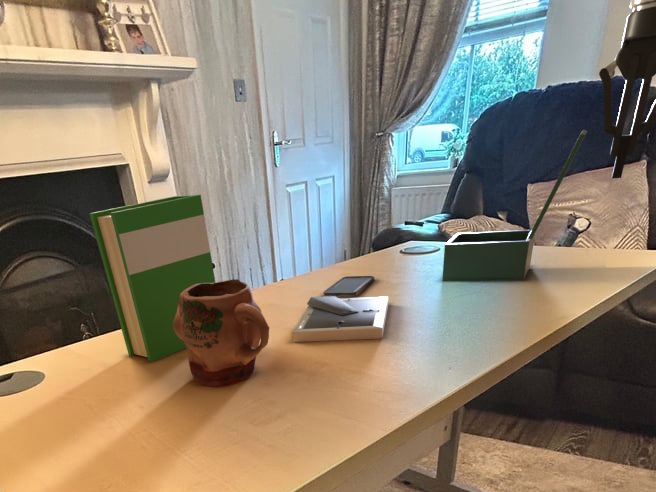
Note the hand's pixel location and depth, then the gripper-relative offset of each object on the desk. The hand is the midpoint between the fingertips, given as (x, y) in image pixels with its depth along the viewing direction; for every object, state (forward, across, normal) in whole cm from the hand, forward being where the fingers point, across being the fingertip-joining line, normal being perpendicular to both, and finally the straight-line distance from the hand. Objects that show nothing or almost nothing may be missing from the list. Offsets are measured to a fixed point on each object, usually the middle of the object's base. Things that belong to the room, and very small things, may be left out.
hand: (616, 177), depth 99 cm
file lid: (+1, -10, 0) cm, 10 cm away
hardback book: (+18, -69, -53) cm, 89 cm away
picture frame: (+18, -41, -37) cm, 58 cm away
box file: (+17, -21, 0) cm, 27 cm away
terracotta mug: (+18, -49, -66) cm, 84 cm away
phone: (+17, -49, -12) cm, 54 cm away
